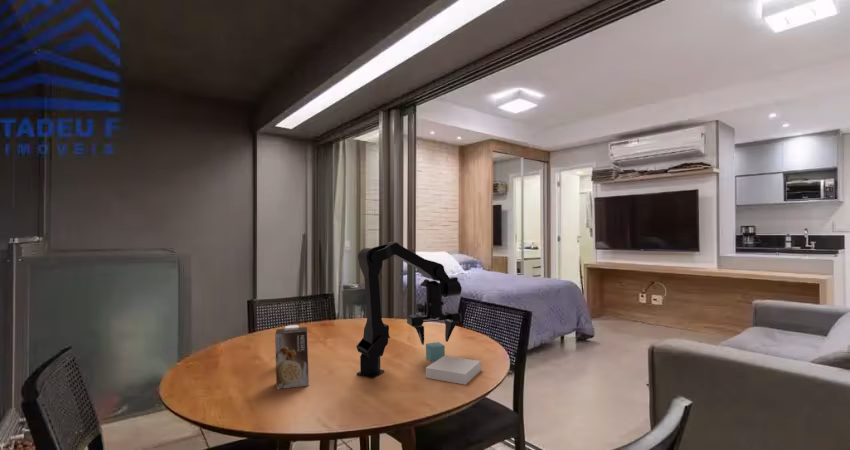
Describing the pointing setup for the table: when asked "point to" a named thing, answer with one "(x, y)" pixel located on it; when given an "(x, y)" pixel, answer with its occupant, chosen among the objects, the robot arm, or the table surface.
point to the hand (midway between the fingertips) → (434, 342)
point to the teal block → (435, 351)
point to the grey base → (453, 369)
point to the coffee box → (291, 357)
